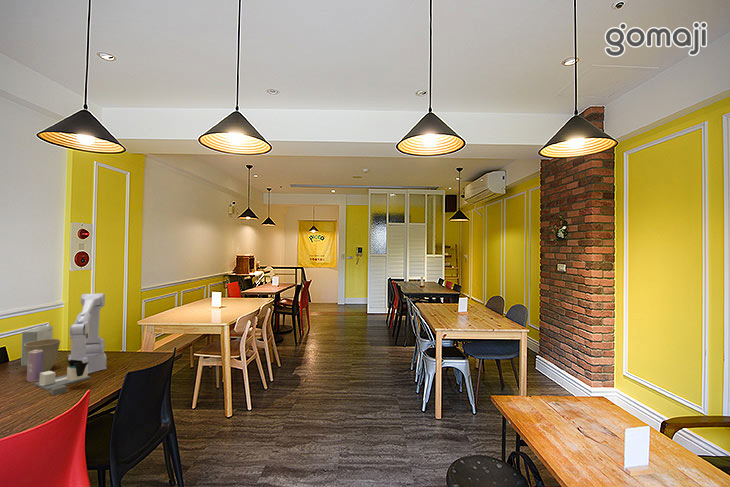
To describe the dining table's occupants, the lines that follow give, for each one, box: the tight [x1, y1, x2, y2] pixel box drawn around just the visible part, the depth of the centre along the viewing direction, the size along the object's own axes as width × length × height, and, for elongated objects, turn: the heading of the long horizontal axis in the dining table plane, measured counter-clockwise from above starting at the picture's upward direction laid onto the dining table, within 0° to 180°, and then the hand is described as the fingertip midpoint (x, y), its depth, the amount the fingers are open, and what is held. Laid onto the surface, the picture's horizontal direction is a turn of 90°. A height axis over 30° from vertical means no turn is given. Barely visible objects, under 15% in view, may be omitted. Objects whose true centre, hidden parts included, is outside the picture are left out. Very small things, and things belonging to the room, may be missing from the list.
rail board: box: [33, 370, 92, 391], centre depth 180 cm, size 18×14×6 cm
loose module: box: [66, 365, 89, 381], centre depth 174 cm, size 7×4×6 cm, turn 153°
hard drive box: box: [20, 325, 54, 367], centre depth 211 cm, size 16×8×20 cm, turn 14°
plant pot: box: [24, 338, 61, 372], centre depth 195 cm, size 15×15×16 cm
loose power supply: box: [49, 385, 68, 397], centre depth 166 cm, size 5×4×3 cm
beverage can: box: [26, 350, 43, 383], centre depth 182 cm, size 6×6×15 cm
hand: (77, 375), depth 174 cm, fingers closed on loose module, 4 cm apart
